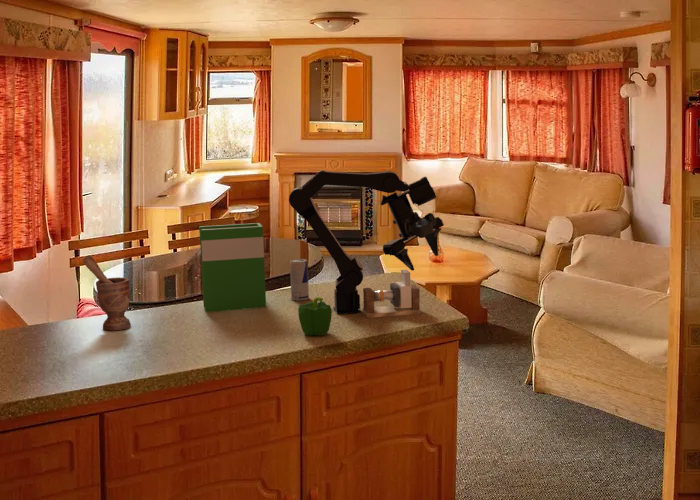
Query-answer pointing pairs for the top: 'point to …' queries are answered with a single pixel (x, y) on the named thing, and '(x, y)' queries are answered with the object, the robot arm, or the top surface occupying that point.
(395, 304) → the dark flat slab
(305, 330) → the bell pepper
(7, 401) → the top surface
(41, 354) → the top surface
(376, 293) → the pipe stand
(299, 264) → the energy drink
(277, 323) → the top surface
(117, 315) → the mortar and pestle
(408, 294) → the beige boxy piece
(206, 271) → the hardback book
